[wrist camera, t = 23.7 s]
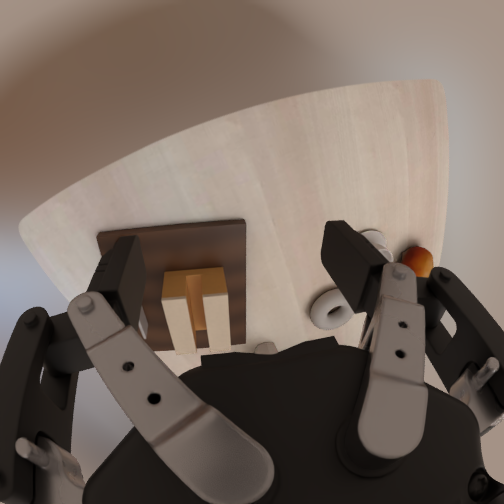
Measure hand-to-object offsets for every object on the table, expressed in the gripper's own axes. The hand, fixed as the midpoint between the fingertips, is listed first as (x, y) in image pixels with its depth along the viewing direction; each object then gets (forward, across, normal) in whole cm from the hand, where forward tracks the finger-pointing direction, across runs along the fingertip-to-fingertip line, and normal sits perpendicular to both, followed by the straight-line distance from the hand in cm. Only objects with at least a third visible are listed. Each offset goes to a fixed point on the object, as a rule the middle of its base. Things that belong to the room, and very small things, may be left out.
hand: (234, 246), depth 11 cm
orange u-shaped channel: (+25, +3, +24) cm, 35 cm away
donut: (+26, -22, +31) cm, 46 cm away
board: (+26, +6, +24) cm, 36 cm away
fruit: (+26, -39, +22) cm, 52 cm away
